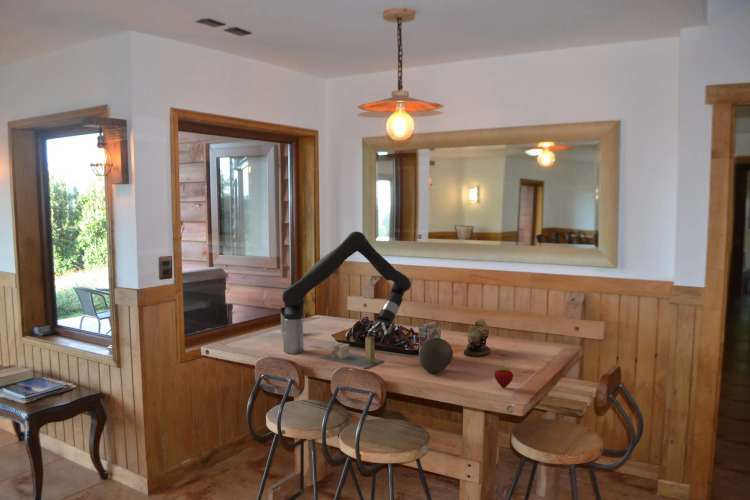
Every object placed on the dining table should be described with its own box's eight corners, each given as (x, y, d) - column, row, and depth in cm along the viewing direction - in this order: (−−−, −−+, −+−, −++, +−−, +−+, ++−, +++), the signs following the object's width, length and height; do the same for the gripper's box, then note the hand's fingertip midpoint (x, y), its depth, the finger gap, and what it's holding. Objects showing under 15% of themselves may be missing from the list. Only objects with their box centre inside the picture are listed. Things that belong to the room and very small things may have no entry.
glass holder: (279, 333, 323) (278, 307, 322) (304, 331, 328) (303, 305, 326) (281, 336, 315) (280, 310, 314) (306, 334, 319) (306, 308, 318)
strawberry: (511, 391, 221) (511, 367, 220) (492, 389, 225) (492, 364, 224) (514, 387, 227) (514, 362, 226) (496, 384, 230) (496, 360, 229)
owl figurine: (472, 346, 288) (472, 314, 286) (494, 350, 282) (495, 316, 281) (459, 355, 273) (459, 320, 271) (482, 359, 267) (483, 323, 265)
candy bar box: (426, 360, 265) (426, 326, 263) (418, 358, 268) (418, 324, 267) (441, 355, 273) (441, 322, 271) (433, 353, 276) (433, 320, 275)
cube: (331, 357, 271) (331, 345, 270) (339, 354, 276) (339, 342, 275) (341, 359, 267) (340, 347, 267) (349, 356, 272) (349, 344, 271)
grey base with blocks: (319, 359, 270) (319, 333, 269) (338, 352, 281) (338, 327, 280) (366, 369, 253) (365, 341, 252) (384, 361, 264) (384, 335, 263)
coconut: (429, 379, 238) (429, 344, 237) (414, 369, 251) (414, 336, 250) (458, 374, 244) (458, 340, 243) (441, 365, 257) (441, 333, 256)
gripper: (373, 306, 273) (359, 334, 265) (397, 309, 264) (383, 339, 256) (379, 315, 277) (366, 343, 269) (404, 319, 269) (390, 347, 261)
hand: (374, 341), depth 263 cm, fingers open, 8 cm apart
